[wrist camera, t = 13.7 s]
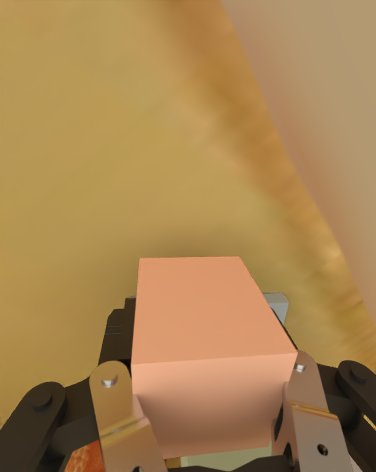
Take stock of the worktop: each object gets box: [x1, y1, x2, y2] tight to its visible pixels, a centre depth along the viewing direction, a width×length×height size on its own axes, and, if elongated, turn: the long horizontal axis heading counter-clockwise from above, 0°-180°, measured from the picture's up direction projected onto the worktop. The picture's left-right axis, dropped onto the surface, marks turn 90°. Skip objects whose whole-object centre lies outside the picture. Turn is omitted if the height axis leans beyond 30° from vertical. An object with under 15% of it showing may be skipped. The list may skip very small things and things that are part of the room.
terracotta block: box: [131, 256, 298, 459], centre depth 11 cm, size 5×5×6 cm
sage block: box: [180, 440, 272, 471], centre depth 17 cm, size 5×5×6 cm
